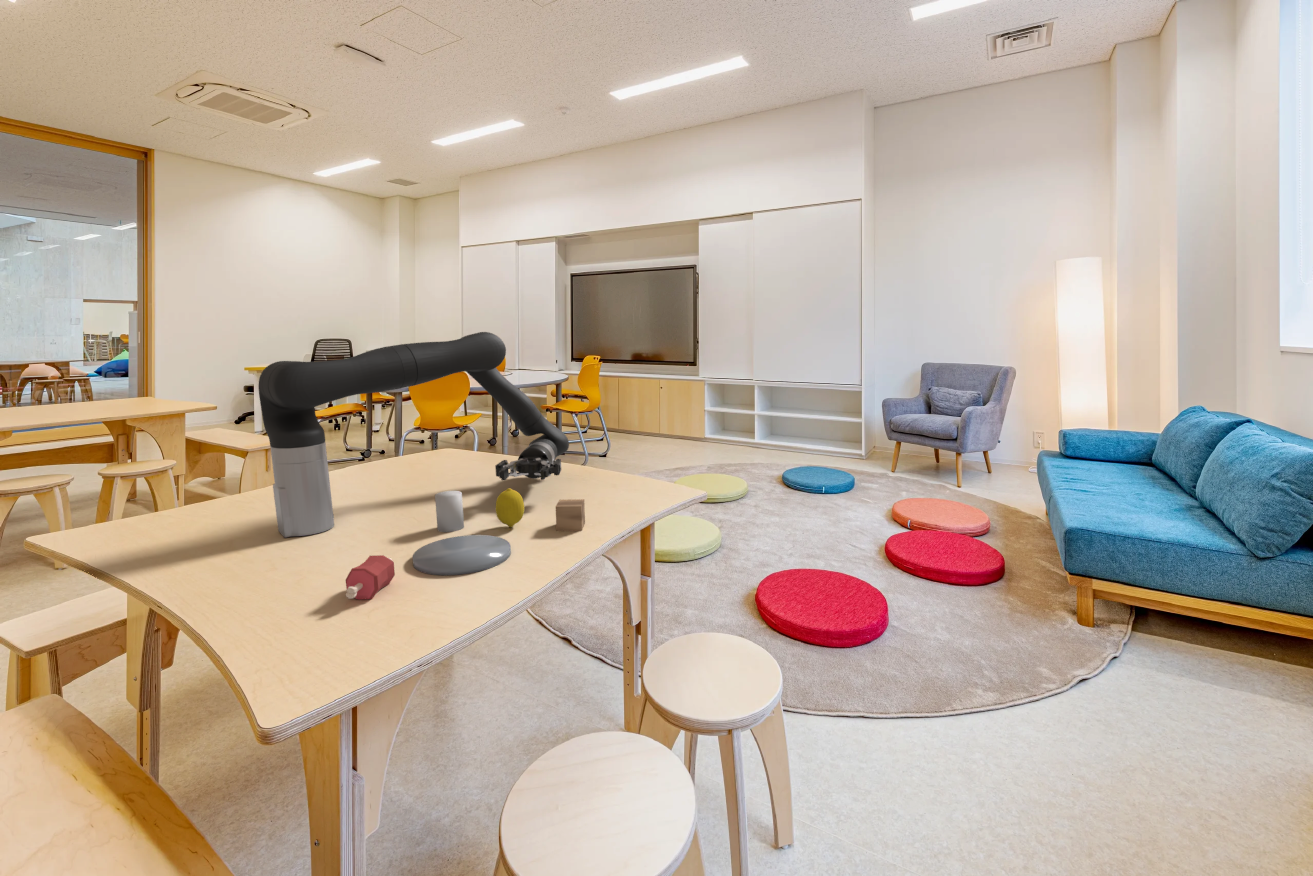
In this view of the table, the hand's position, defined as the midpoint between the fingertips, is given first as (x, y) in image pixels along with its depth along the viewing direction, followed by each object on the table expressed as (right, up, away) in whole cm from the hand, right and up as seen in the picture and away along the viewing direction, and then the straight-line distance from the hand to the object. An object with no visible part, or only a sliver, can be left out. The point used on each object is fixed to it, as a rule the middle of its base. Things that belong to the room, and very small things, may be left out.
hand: (522, 475), depth 127 cm
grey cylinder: (-12, -10, -10) cm, 18 cm away
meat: (-14, -15, -39) cm, 44 cm away
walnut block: (+12, -10, -10) cm, 18 cm away
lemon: (0, -10, -10) cm, 14 cm away
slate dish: (-4, -12, -26) cm, 29 cm away
